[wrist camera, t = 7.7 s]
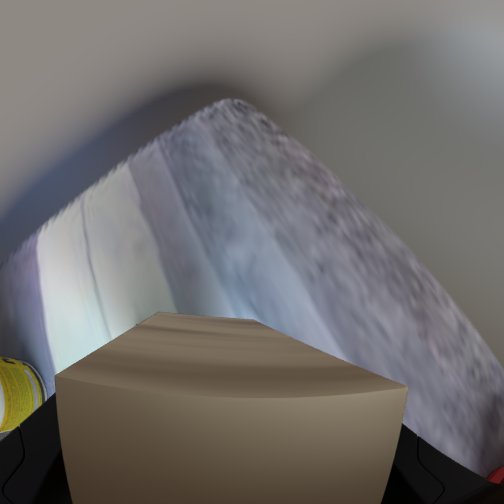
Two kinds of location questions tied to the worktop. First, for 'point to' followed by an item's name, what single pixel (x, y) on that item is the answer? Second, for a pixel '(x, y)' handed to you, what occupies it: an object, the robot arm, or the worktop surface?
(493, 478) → the canned food
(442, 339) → the worktop surface
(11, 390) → the supplement bottle
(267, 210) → the worktop surface
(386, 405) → the block
